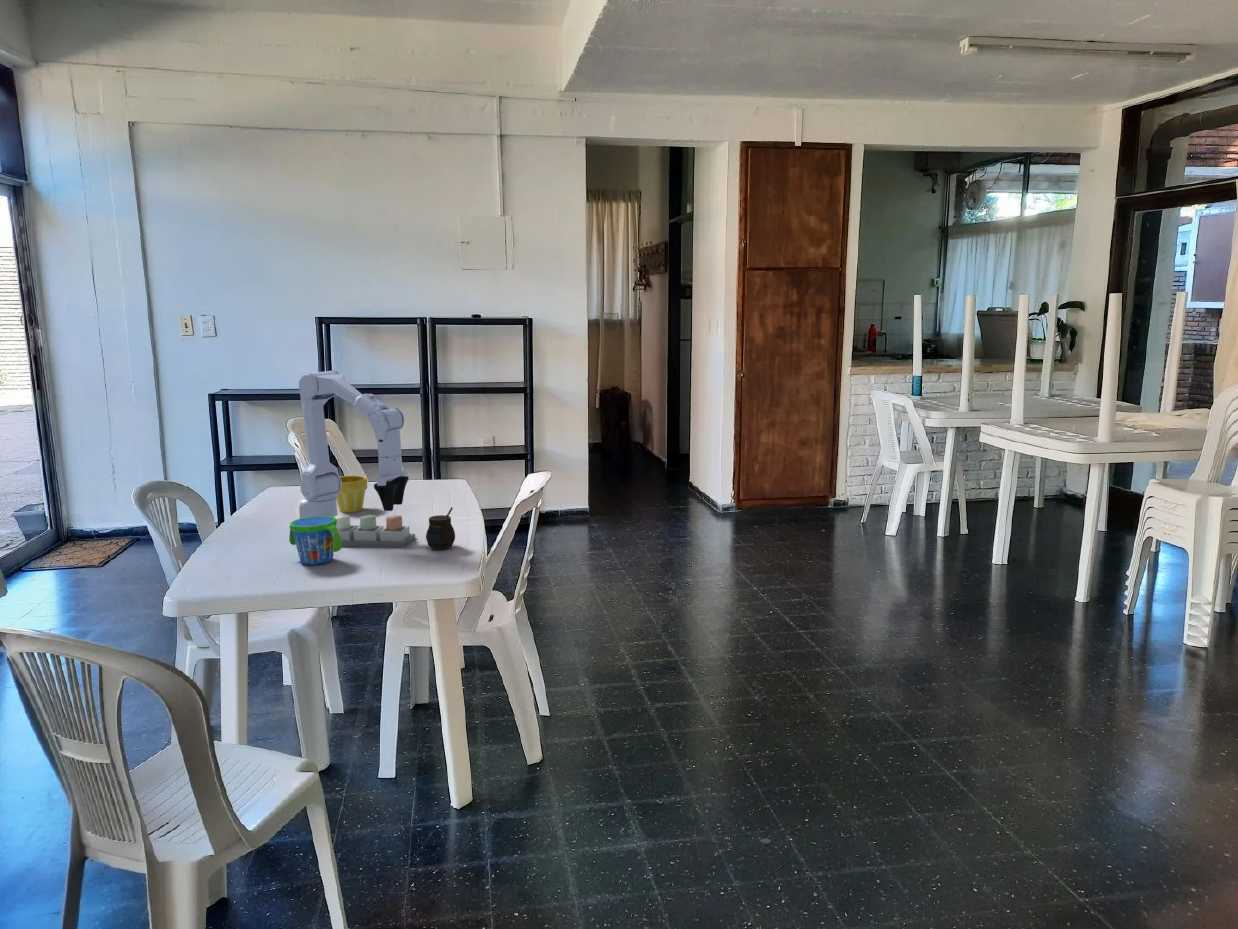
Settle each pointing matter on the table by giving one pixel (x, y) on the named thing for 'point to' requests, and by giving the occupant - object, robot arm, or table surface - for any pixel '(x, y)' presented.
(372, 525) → the sage button
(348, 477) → the plant pot
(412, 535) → the button panel
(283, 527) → the table surface
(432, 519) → the mate gourd
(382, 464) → the robot arm
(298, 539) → the snack cup
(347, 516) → the cream button
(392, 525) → the terracotta button
